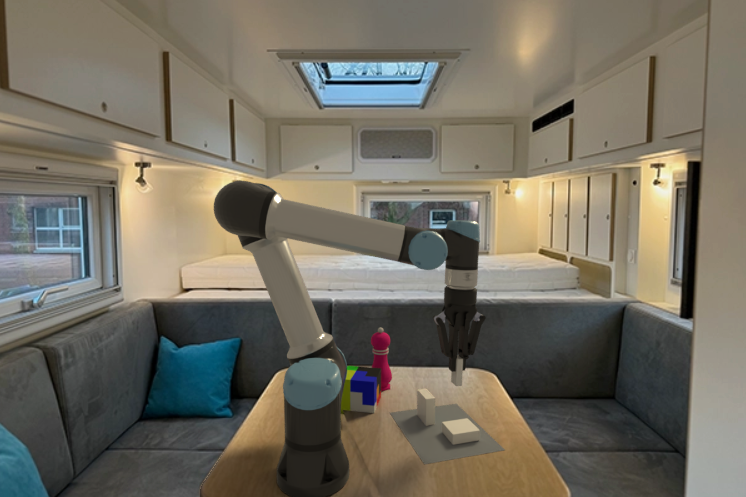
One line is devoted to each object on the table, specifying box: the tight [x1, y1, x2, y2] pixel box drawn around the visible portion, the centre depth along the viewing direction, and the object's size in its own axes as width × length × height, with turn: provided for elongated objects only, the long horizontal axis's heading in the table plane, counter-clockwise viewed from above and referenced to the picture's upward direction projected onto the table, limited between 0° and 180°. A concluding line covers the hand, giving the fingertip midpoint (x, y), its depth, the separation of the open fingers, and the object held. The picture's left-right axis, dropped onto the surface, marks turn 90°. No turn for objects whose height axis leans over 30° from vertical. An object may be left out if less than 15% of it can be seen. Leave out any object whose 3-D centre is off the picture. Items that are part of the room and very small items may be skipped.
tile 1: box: [416, 388, 436, 426], centre depth 109 cm, size 6×3×7 cm, turn 16°
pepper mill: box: [370, 327, 393, 392], centre depth 129 cm, size 7×7×20 cm
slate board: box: [389, 403, 506, 465], centre depth 104 cm, size 24×20×1 cm
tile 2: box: [442, 418, 480, 445], centre depth 101 cm, size 6×3×7 cm
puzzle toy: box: [341, 365, 382, 415], centre depth 118 cm, size 10×10×10 cm
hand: (456, 383), depth 100 cm, fingers closed
